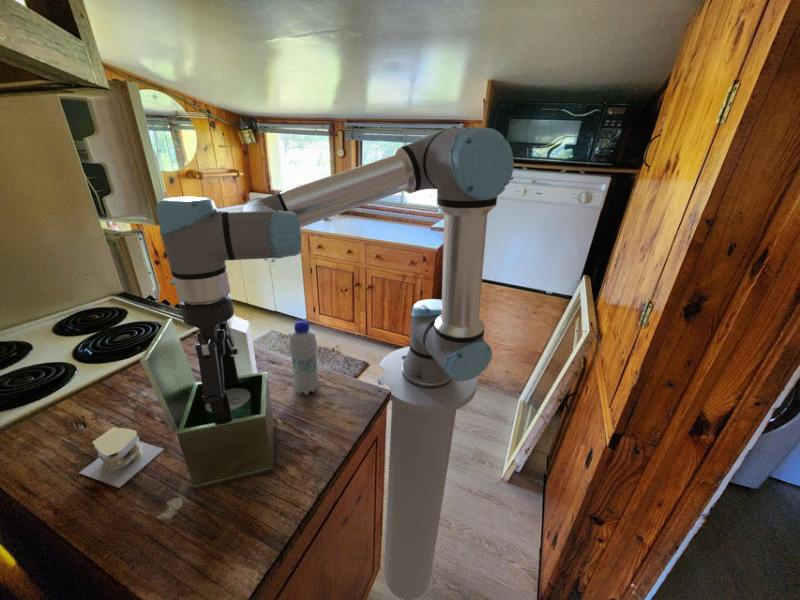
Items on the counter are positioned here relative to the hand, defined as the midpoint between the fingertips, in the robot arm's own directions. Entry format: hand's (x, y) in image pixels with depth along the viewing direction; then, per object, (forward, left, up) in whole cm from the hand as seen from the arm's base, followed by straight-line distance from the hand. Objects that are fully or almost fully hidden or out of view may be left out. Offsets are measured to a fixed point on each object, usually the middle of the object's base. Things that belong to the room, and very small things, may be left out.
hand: (228, 402), depth 62 cm
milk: (0, -19, -13) cm, 23 cm away
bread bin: (0, 0, -13) cm, 13 cm away
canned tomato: (0, 0, -11) cm, 11 cm away
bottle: (-15, -16, -13) cm, 25 cm away
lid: (+7, 0, +9) cm, 11 cm away
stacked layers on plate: (+21, -4, -13) cm, 25 cm away
